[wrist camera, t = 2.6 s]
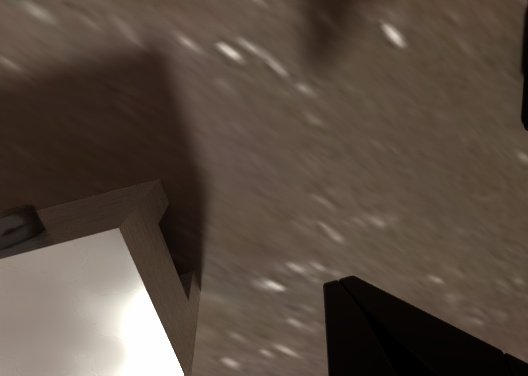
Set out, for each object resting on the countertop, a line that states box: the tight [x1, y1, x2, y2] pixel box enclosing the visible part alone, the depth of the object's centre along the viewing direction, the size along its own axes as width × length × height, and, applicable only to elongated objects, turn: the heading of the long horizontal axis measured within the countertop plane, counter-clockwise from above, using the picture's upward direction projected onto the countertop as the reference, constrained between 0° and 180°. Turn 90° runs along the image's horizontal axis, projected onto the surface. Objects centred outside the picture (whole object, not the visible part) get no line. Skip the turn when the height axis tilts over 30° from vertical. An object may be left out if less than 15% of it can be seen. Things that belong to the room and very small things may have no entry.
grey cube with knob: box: [0, 179, 201, 376], centre depth 10 cm, size 7×7×5 cm
